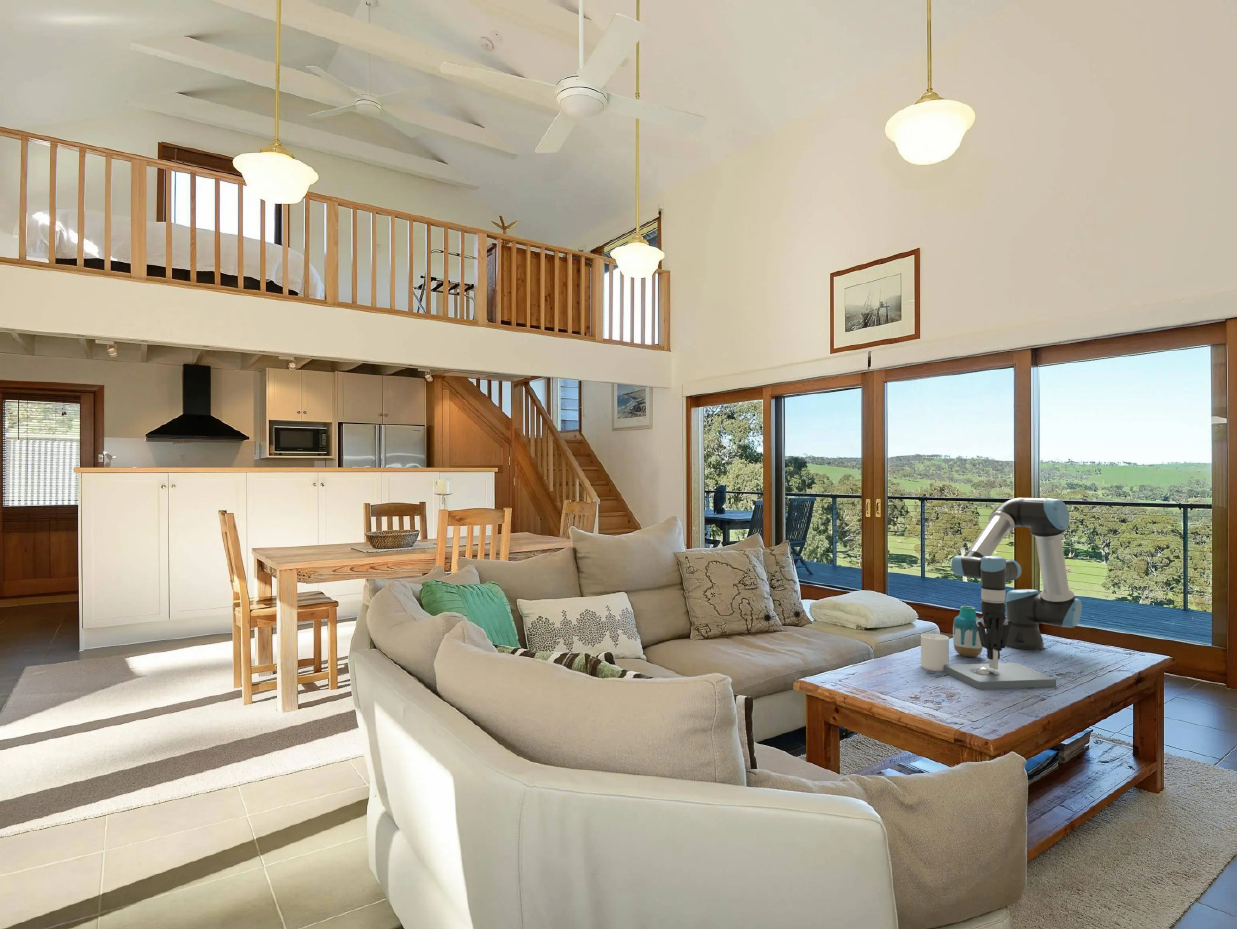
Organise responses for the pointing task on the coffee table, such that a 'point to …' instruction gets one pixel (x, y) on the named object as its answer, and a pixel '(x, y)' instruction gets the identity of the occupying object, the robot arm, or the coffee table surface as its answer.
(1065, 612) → the robot arm
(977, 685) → the grey plate with hole
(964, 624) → the vase
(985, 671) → the ball
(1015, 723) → the coffee table surface
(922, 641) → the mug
